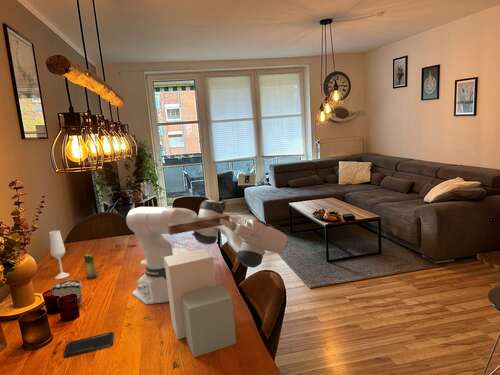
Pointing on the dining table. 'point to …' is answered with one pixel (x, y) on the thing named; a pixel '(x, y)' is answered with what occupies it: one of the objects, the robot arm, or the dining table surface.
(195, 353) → the sage base
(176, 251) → the medallion
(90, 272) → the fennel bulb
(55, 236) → the champagne flute
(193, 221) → the walnut bar
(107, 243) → the dining table surface
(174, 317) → the white pedestal
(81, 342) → the phone
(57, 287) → the food container
